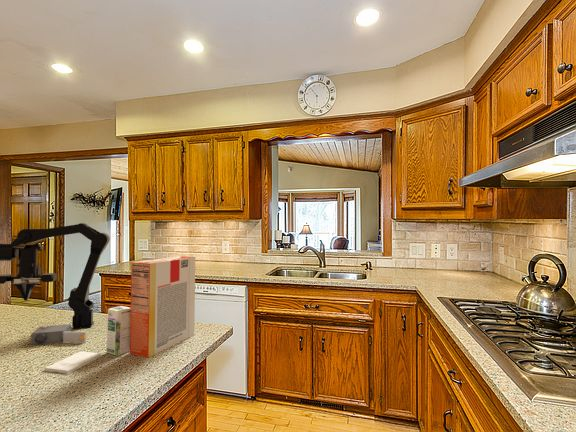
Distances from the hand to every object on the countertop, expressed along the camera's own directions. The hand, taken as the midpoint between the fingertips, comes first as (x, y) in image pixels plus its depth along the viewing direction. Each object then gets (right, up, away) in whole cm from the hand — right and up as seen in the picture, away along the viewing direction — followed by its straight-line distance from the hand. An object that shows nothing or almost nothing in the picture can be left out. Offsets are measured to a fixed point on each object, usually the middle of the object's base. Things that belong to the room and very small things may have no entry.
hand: (26, 300), depth 129 cm
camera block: (+16, -12, -9) cm, 22 cm away
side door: (+26, -12, -12) cm, 31 cm away
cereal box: (+59, -13, -12) cm, 61 cm away
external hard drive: (+38, -13, -29) cm, 49 cm away
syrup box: (+47, -12, -19) cm, 52 cm away
